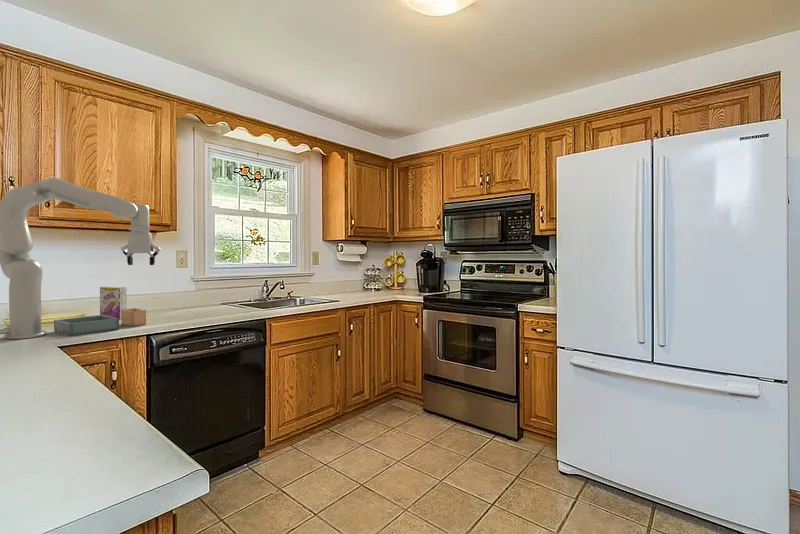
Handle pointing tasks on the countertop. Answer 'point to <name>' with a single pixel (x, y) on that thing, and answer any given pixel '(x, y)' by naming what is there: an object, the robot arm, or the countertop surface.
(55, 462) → the countertop surface
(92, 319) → the dark grey tray
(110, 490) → the countertop surface
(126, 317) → the box
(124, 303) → the candy bar box
